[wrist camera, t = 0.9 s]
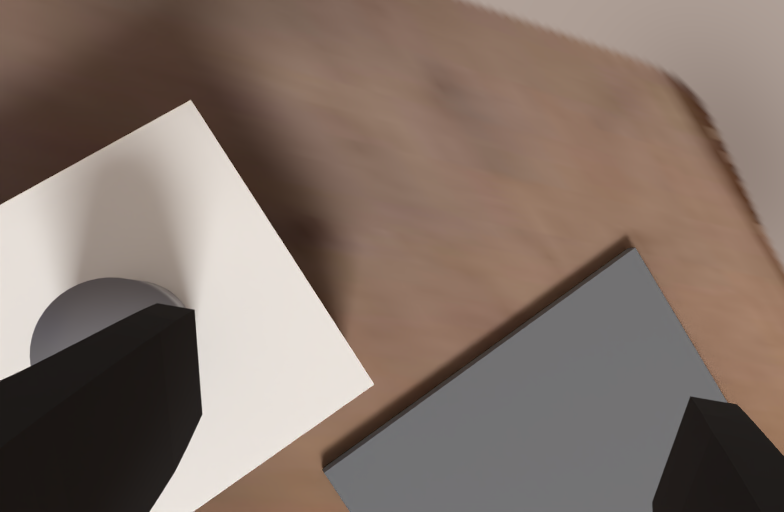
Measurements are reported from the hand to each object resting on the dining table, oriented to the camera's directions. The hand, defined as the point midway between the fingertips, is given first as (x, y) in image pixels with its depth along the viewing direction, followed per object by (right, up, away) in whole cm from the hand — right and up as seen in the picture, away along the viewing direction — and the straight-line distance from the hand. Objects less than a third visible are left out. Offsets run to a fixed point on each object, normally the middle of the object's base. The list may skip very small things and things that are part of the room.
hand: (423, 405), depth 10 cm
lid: (-7, 0, +9) cm, 12 cm away
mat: (+7, -7, +15) cm, 18 cm away
